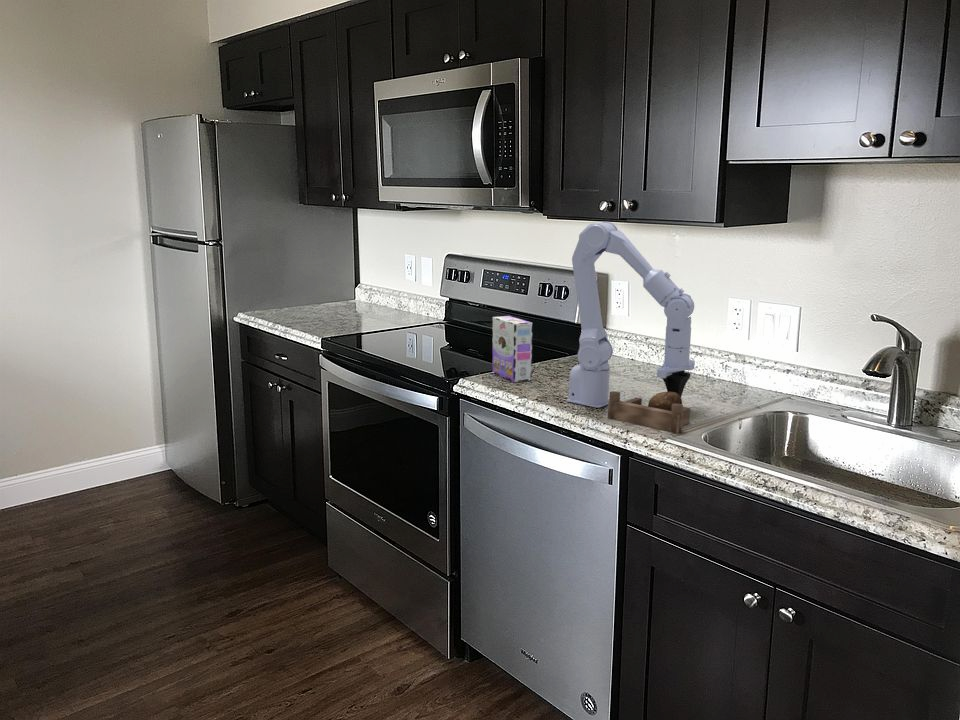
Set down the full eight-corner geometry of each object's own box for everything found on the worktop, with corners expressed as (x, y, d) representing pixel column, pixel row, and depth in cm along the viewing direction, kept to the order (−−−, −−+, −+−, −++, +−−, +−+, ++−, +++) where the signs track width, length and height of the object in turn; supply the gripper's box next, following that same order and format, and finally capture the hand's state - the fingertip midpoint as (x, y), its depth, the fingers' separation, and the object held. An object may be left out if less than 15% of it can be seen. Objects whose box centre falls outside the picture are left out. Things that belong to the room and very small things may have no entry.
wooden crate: (606, 417, 193) (607, 392, 192) (627, 409, 200) (628, 385, 199) (678, 433, 181) (679, 406, 180) (698, 424, 188) (699, 399, 187)
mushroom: (679, 397, 199) (671, 379, 195) (691, 418, 192) (683, 400, 189) (649, 412, 200) (640, 394, 196) (660, 433, 193) (651, 415, 190)
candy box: (532, 381, 229) (533, 321, 225) (513, 383, 226) (514, 323, 223) (509, 371, 241) (510, 314, 238) (491, 372, 238) (491, 316, 235)
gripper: (677, 353, 187) (674, 411, 190) (707, 344, 198) (704, 399, 200) (650, 349, 191) (647, 406, 194) (680, 340, 202) (677, 394, 205)
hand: (674, 402), depth 198 cm, fingers closed
